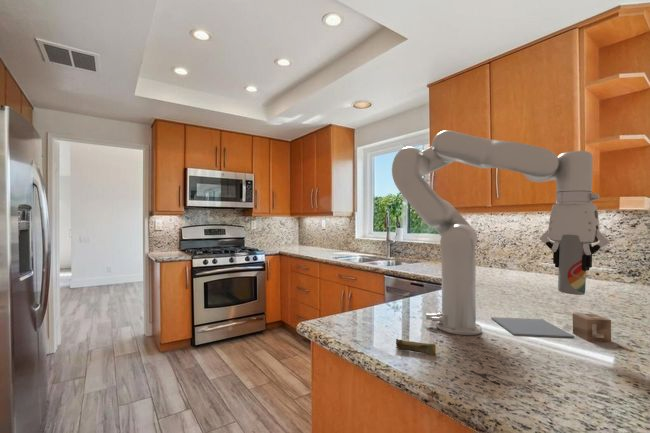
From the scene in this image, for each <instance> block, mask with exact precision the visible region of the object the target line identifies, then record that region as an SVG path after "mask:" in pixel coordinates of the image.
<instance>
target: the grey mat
mask: <svg viewBox="0 0 650 433" xmlns="http://www.w3.org/2000/svg"><path fill="white" fill-rule="evenodd" d="M490 319H491V320H492V321H493V322H495V323H496V324H497V325H499V326H500V327H502V328H503V329H505V331H507V332H508V333H510V334H511V335H512V336H522V337H540V338H541V337H544V338H545V337H547V338H562V337H566V339H575V336H574V334H571V333H569V332H568V331H565V330H564V329H561V328H560V327H558V326H556V325H554V324H552V323H550V322H549V321H546V320H544V319H543V318H515V317H496V316H494V317H493V316H491V317H490Z"/></svg>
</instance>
